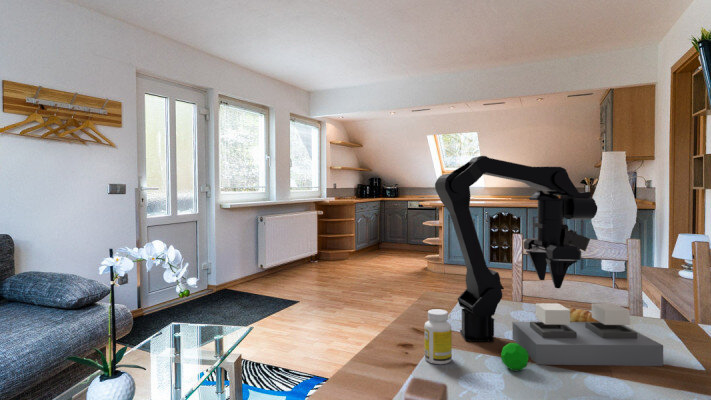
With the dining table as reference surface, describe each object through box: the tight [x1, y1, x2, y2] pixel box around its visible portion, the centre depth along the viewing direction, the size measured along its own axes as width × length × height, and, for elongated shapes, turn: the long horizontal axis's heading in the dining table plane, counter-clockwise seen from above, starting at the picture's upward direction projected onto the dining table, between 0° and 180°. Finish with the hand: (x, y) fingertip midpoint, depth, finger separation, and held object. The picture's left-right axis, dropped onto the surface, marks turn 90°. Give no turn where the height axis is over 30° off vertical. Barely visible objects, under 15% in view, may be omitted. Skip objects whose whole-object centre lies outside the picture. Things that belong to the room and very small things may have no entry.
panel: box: [511, 321, 664, 367], centre depth 85 cm, size 24×14×5 cm, turn 87°
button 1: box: [535, 303, 570, 325], centre depth 85 cm, size 5×5×3 cm
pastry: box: [568, 307, 599, 322], centre depth 102 cm, size 9×7×4 cm
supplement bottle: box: [424, 308, 453, 365], centre depth 82 cm, size 5×5×10 cm
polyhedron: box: [500, 342, 530, 372], centre depth 77 cm, size 5×5×5 cm
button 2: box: [591, 303, 631, 326], centre depth 85 cm, size 5×5×3 cm
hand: (549, 283), depth 97 cm, fingers open, 9 cm apart
